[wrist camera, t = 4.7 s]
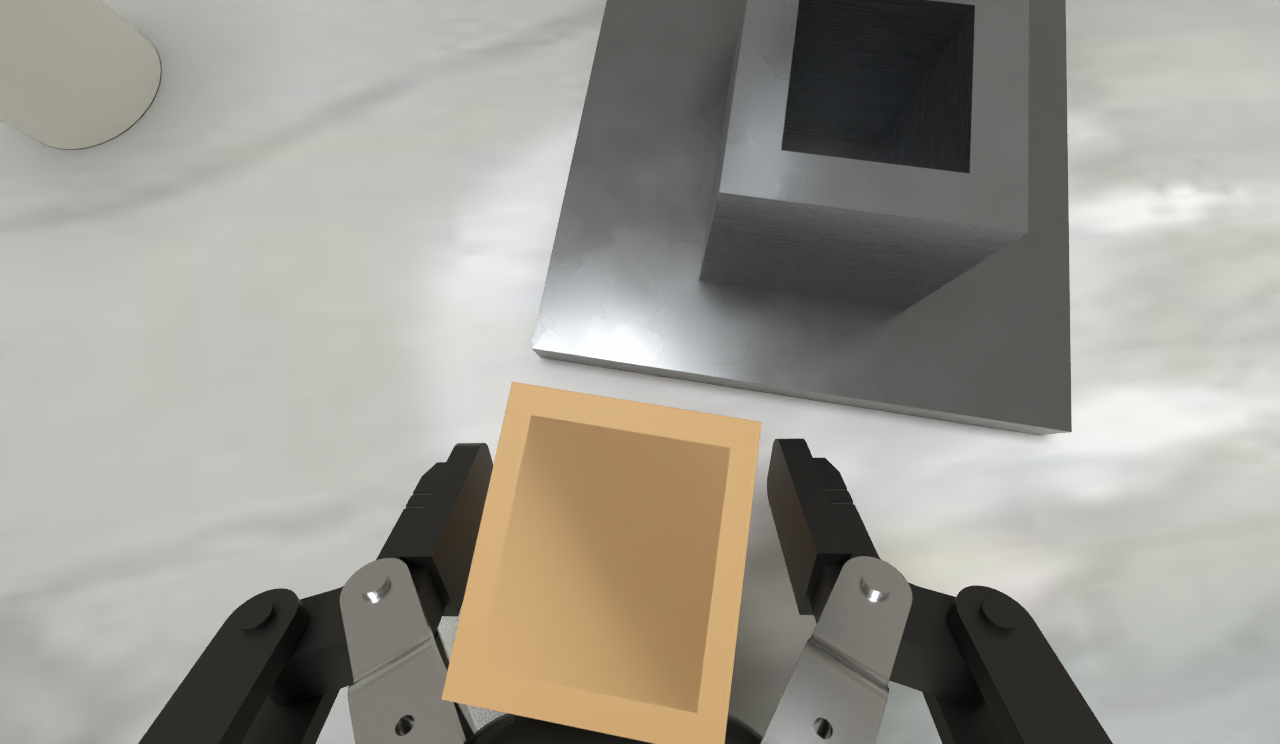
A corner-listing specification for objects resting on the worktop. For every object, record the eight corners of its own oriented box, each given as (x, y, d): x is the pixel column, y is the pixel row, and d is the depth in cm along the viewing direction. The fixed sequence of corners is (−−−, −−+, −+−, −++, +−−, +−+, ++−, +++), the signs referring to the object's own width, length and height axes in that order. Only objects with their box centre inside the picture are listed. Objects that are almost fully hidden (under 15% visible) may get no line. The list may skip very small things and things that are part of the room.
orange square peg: (678, 567, 18) (722, 757, 6) (580, 549, 18) (440, 699, 6) (694, 451, 19) (761, 421, 7) (601, 435, 19) (511, 381, 7)
